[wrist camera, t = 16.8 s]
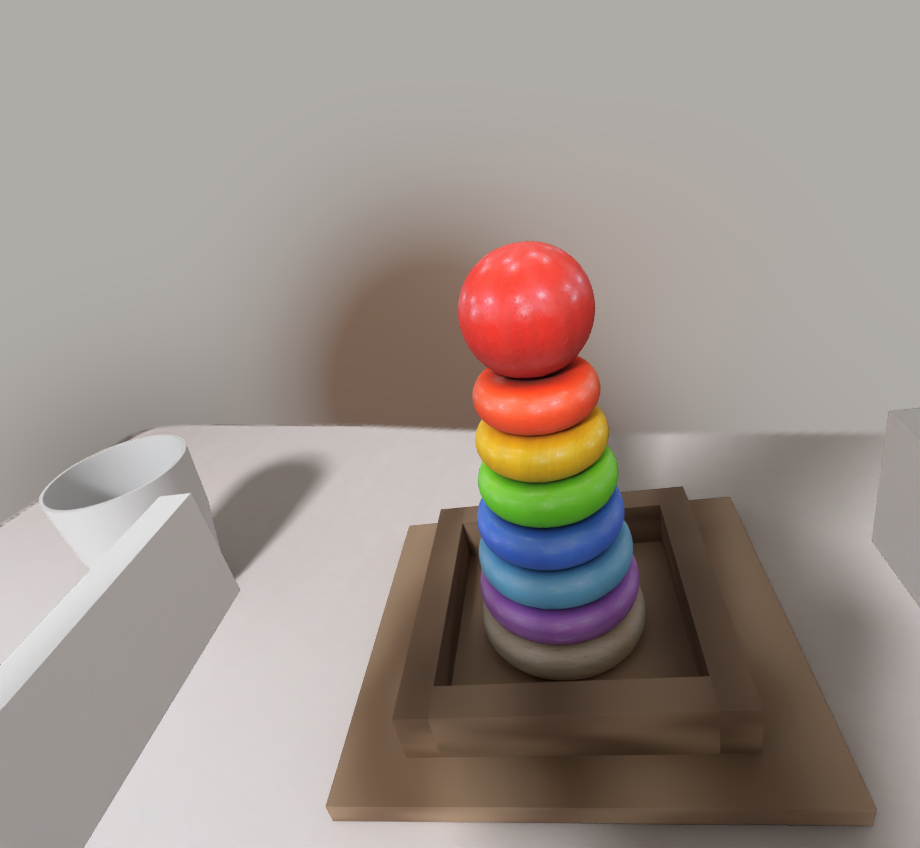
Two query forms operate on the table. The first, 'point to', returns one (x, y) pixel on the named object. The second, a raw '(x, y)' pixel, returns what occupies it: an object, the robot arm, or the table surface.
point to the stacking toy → (546, 471)
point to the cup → (119, 492)
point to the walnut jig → (598, 697)
